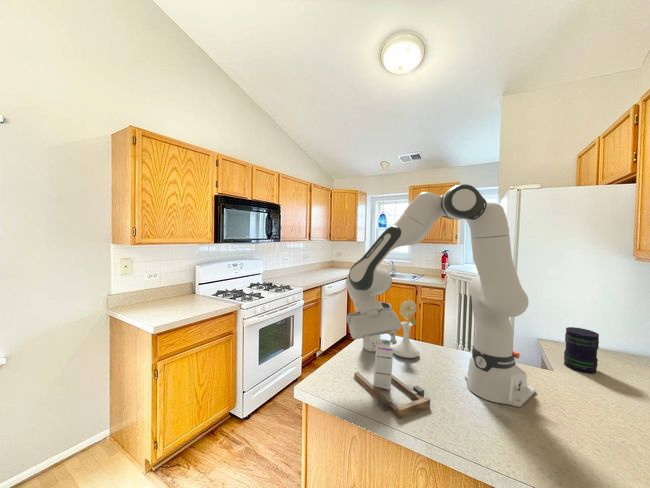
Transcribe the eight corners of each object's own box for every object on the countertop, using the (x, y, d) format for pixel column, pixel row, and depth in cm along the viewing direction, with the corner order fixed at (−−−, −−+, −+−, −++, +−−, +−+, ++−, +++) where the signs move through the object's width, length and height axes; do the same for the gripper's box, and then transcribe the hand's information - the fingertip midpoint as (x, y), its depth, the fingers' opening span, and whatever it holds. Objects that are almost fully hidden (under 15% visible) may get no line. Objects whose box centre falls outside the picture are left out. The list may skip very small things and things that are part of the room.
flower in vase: (388, 349, 123) (389, 295, 122) (411, 348, 125) (413, 294, 124) (401, 363, 110) (403, 303, 109) (426, 361, 112) (428, 302, 111)
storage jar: (561, 366, 110) (563, 330, 109) (565, 359, 116) (567, 325, 116) (596, 377, 102) (598, 338, 102) (598, 368, 109) (600, 332, 108)
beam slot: (385, 368, 106) (385, 362, 106) (434, 405, 84) (435, 398, 84) (349, 377, 99) (349, 371, 99) (393, 420, 77) (393, 412, 77)
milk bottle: (380, 352, 120) (381, 308, 119) (362, 351, 121) (363, 307, 120) (379, 345, 127) (380, 303, 126) (363, 344, 129) (364, 302, 128)
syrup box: (390, 389, 90) (394, 347, 90) (372, 386, 92) (376, 344, 91) (389, 380, 96) (393, 340, 95) (373, 377, 97) (376, 338, 96)
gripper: (347, 309, 95) (362, 347, 87) (393, 303, 104) (411, 337, 96) (341, 318, 99) (354, 355, 91) (386, 311, 108) (402, 345, 100)
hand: (384, 346), depth 93 cm, fingers closed on syrup box, 8 cm apart
